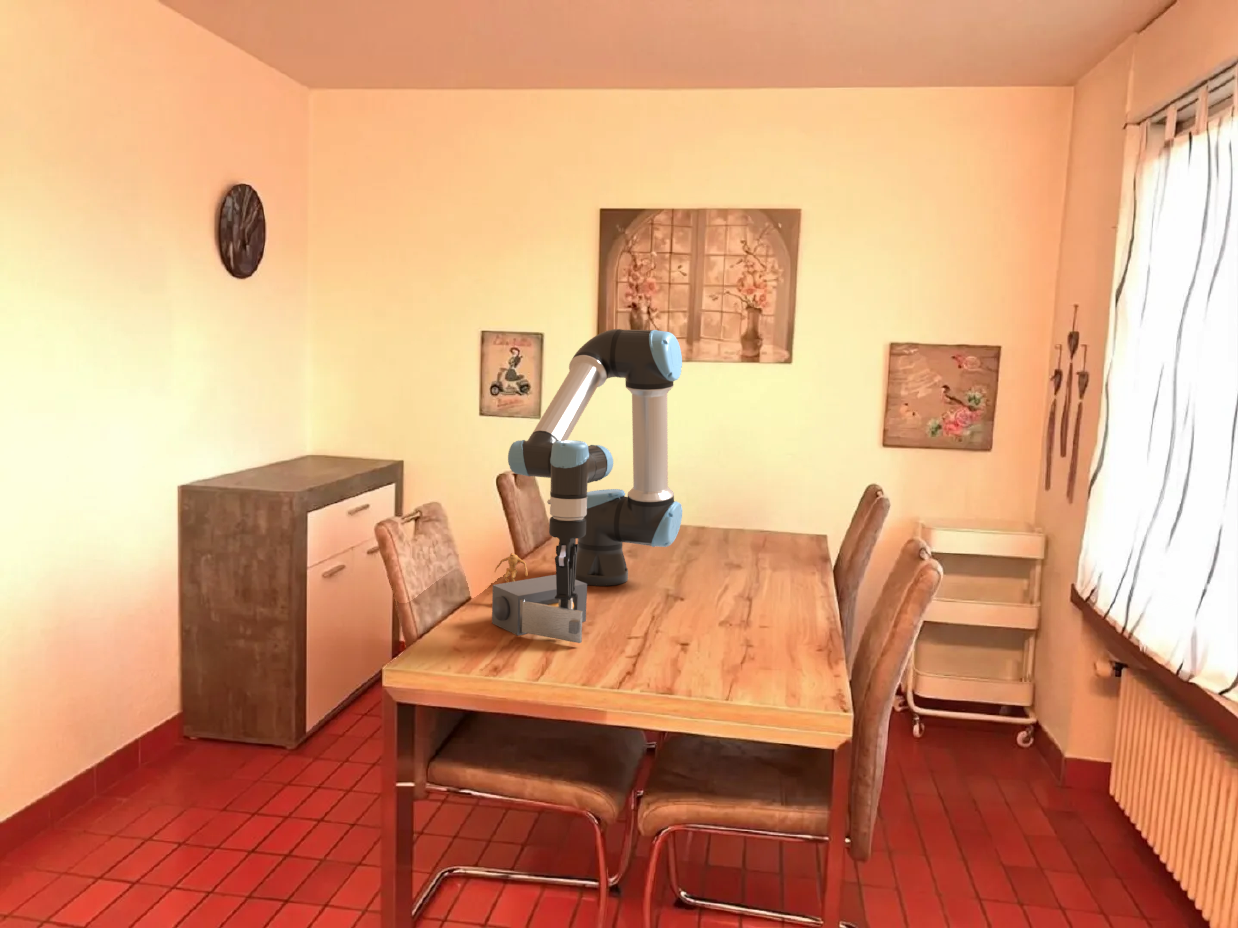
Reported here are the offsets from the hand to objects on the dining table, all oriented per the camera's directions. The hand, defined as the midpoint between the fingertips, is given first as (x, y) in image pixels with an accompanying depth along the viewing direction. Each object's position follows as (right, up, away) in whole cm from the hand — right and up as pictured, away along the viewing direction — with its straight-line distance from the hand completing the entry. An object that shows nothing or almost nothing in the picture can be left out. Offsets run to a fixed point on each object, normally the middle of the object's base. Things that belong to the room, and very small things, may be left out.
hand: (564, 628), depth 193 cm
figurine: (-14, +1, +24) cm, 28 cm away
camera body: (-6, -1, +11) cm, 13 cm away
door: (-3, -2, -2) cm, 4 cm away
